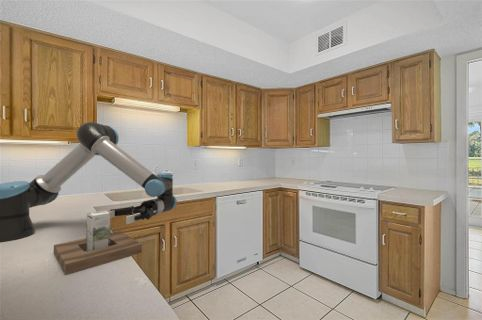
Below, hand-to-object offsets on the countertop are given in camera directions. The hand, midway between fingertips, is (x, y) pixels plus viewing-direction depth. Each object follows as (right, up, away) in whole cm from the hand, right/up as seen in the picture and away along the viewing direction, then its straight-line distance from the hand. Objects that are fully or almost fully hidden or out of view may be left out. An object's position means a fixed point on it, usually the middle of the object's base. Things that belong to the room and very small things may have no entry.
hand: (112, 218), depth 88 cm
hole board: (-2, -11, -6) cm, 12 cm away
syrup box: (-2, -11, -5) cm, 12 cm away
